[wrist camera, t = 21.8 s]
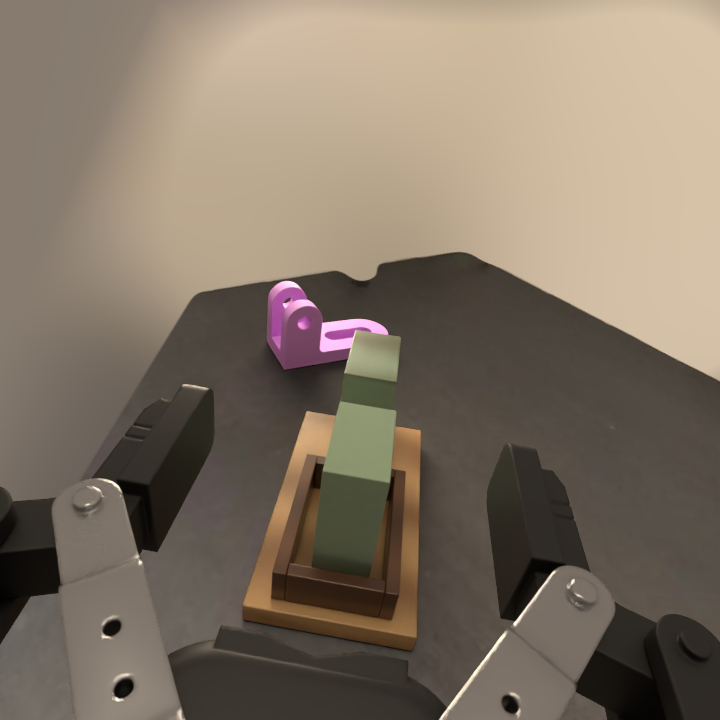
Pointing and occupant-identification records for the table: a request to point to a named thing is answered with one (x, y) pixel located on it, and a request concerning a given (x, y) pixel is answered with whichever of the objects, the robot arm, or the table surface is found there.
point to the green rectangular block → (354, 489)
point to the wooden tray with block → (299, 516)
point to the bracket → (308, 330)
